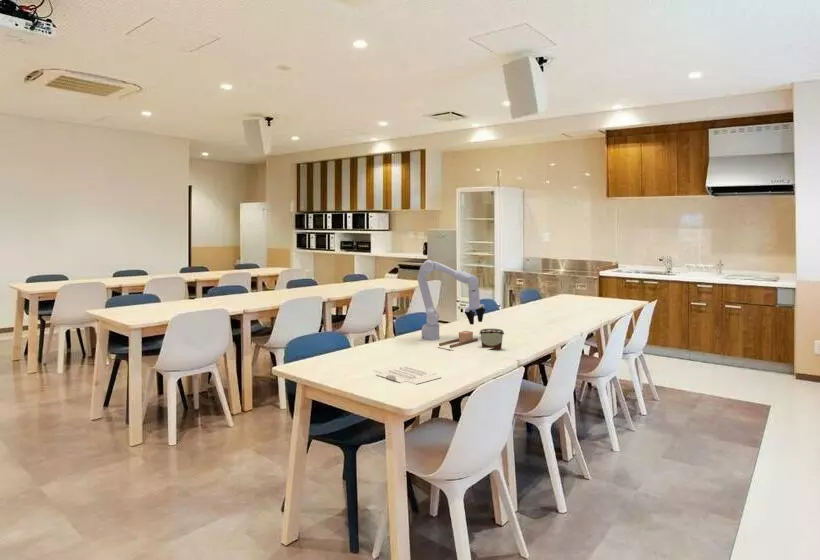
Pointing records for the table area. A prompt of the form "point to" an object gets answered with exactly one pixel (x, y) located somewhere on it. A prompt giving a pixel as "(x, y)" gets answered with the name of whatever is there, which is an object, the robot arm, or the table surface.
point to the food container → (491, 338)
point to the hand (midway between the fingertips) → (476, 323)
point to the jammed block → (465, 336)
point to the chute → (456, 343)
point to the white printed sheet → (407, 374)
